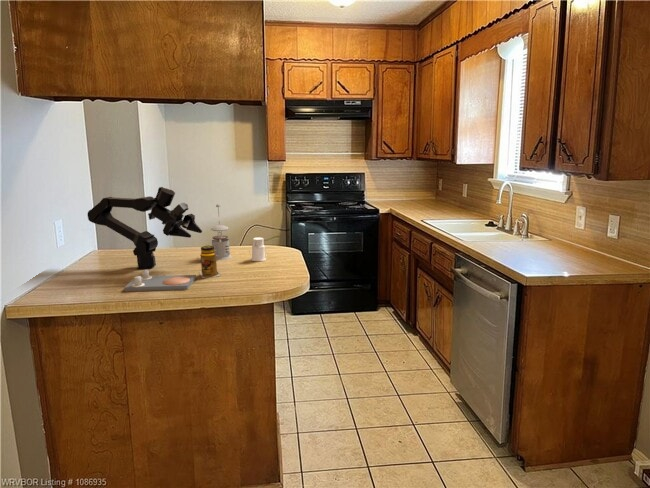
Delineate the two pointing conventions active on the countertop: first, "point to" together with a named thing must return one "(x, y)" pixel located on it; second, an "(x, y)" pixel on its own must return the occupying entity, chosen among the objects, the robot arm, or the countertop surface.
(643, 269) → the countertop surface
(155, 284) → the board
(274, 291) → the countertop surface
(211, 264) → the condiment
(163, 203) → the robot arm
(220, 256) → the french press
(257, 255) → the downlight
